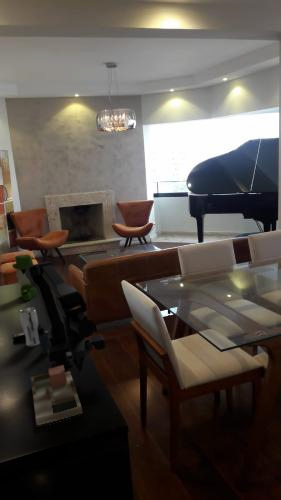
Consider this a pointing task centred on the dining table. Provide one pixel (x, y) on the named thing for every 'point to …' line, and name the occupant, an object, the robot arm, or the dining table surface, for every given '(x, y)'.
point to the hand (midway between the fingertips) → (80, 370)
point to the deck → (53, 398)
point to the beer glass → (30, 325)
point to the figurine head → (24, 276)
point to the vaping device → (42, 338)
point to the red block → (57, 375)
